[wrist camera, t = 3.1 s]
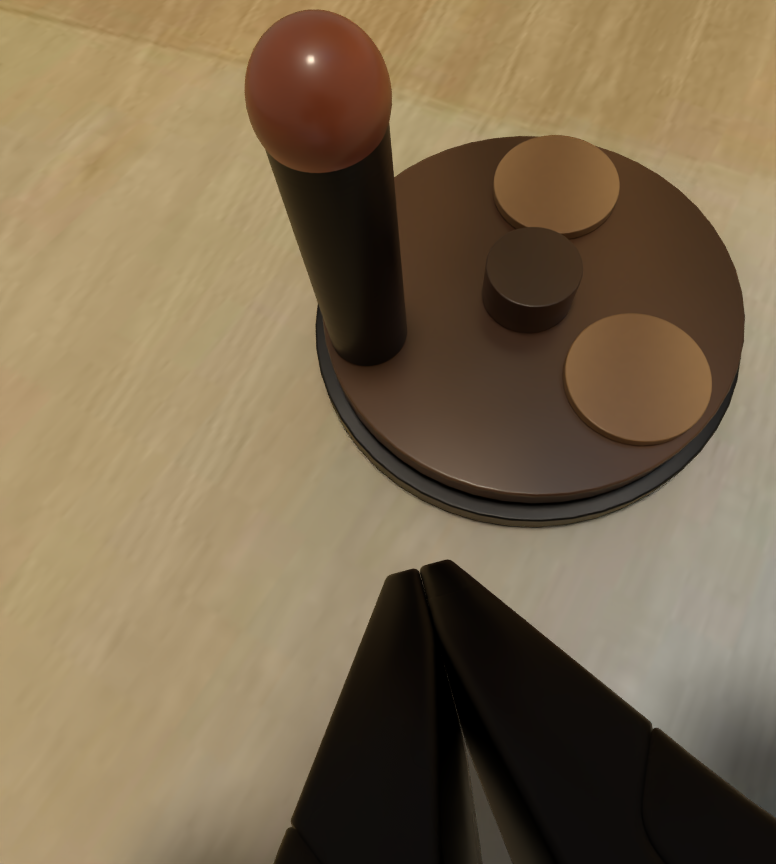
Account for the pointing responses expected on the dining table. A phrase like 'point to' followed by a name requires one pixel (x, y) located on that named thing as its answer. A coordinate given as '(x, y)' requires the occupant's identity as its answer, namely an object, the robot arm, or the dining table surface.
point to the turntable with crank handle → (494, 283)
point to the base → (493, 508)
